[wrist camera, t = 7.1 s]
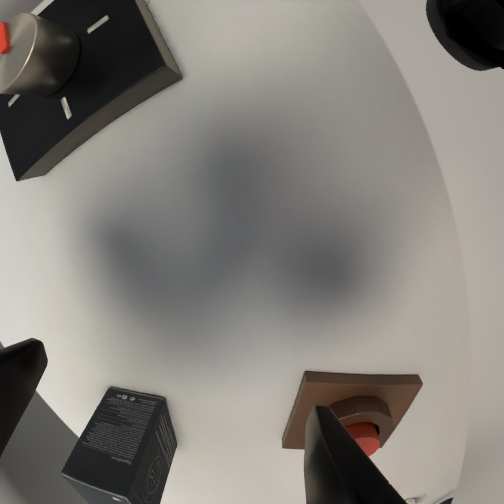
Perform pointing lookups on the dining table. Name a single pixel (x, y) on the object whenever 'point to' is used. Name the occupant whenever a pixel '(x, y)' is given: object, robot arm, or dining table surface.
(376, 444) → the button
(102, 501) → the box
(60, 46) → the knob
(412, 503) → the cup
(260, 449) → the dining table surface
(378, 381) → the button block
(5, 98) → the panel
